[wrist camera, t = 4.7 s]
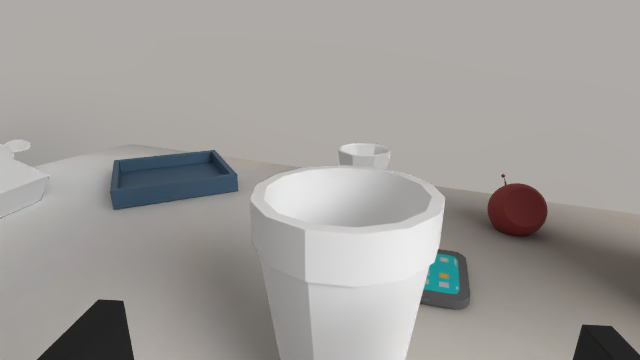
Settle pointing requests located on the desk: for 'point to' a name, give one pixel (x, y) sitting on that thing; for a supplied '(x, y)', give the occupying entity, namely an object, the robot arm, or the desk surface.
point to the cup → (365, 155)
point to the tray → (170, 178)
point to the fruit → (517, 209)
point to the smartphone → (447, 281)
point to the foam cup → (345, 258)
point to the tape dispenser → (18, 179)
